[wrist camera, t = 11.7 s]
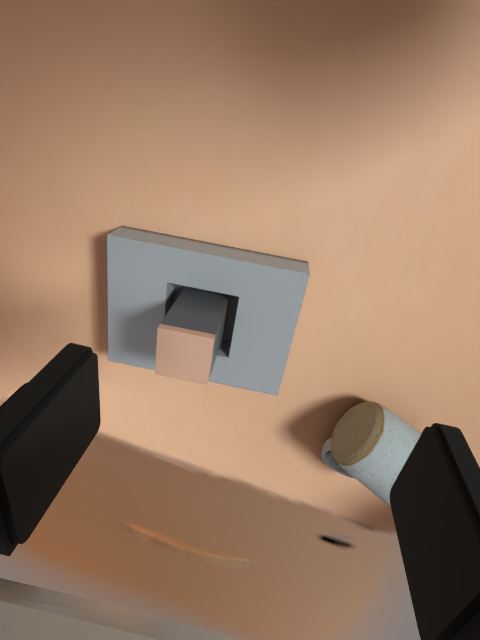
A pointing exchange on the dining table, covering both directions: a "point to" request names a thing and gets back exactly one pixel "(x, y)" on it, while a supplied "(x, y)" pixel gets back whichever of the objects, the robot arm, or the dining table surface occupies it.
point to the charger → (191, 335)
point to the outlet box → (213, 275)
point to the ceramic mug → (370, 447)
